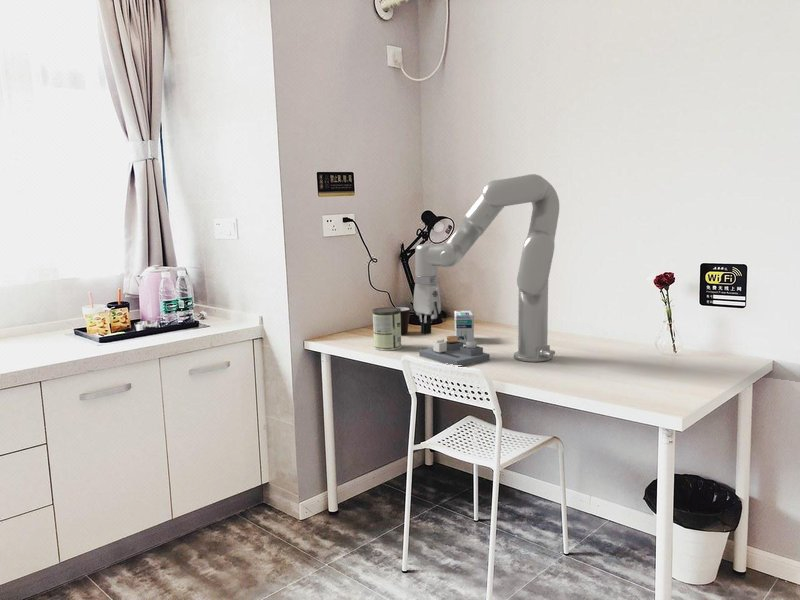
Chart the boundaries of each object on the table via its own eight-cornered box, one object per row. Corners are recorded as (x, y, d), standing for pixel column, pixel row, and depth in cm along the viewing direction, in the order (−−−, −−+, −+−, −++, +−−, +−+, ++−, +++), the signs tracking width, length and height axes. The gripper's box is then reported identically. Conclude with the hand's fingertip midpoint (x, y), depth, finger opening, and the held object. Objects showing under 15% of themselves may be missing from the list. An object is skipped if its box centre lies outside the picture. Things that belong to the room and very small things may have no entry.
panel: (489, 360, 222) (489, 348, 222) (457, 367, 214) (456, 355, 214) (450, 349, 239) (450, 338, 238) (419, 355, 231) (419, 344, 230)
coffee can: (374, 344, 250) (373, 307, 248) (401, 344, 250) (401, 306, 247) (372, 351, 240) (371, 312, 238) (401, 350, 239) (400, 311, 237)
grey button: (479, 349, 224) (479, 341, 223) (470, 350, 221) (470, 343, 221) (471, 347, 226) (471, 339, 226) (463, 349, 224) (463, 341, 224)
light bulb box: (474, 343, 247) (474, 315, 245) (456, 344, 247) (455, 315, 246) (471, 337, 258) (471, 310, 256) (454, 338, 258) (453, 310, 256)
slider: (446, 350, 226) (446, 339, 226) (439, 352, 224) (439, 341, 224) (440, 349, 229) (440, 338, 228) (433, 350, 227) (433, 339, 226)
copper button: (459, 344, 232) (459, 336, 231) (451, 345, 230) (451, 338, 229) (452, 342, 235) (452, 335, 234) (444, 344, 232) (444, 336, 232)
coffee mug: (393, 331, 274) (392, 307, 272) (413, 332, 271) (412, 307, 269) (382, 337, 263) (382, 311, 261) (403, 338, 260) (402, 312, 258)
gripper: (448, 282, 224) (448, 336, 227) (421, 277, 236) (421, 328, 239) (431, 284, 220) (430, 338, 223) (404, 279, 232) (404, 331, 235)
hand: (426, 333), depth 231 cm, fingers closed
